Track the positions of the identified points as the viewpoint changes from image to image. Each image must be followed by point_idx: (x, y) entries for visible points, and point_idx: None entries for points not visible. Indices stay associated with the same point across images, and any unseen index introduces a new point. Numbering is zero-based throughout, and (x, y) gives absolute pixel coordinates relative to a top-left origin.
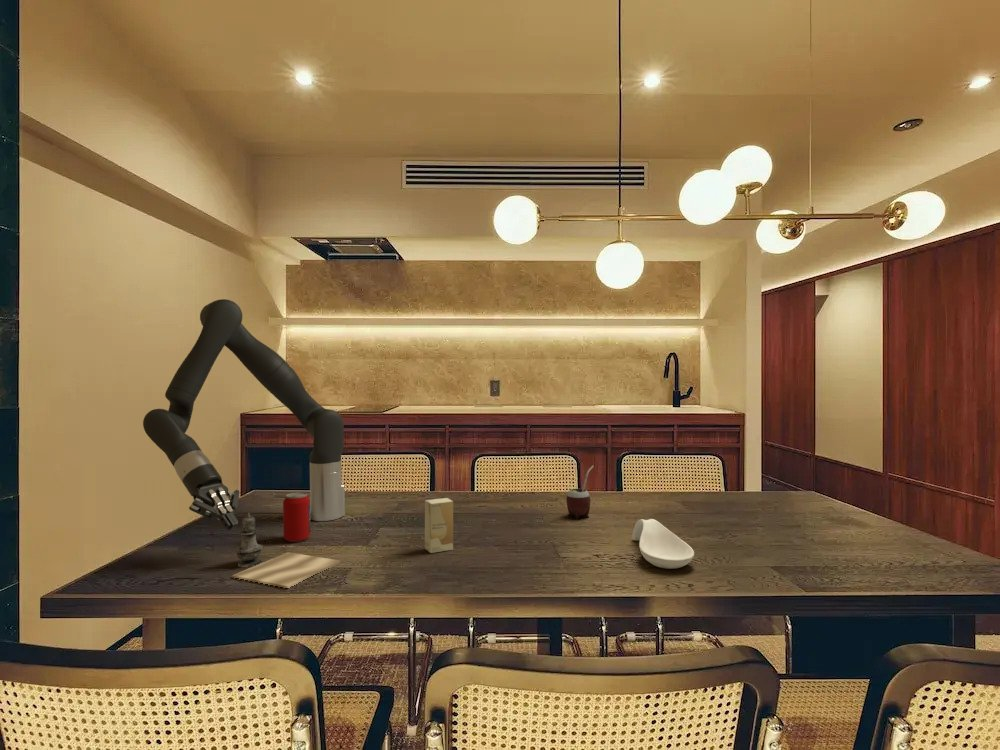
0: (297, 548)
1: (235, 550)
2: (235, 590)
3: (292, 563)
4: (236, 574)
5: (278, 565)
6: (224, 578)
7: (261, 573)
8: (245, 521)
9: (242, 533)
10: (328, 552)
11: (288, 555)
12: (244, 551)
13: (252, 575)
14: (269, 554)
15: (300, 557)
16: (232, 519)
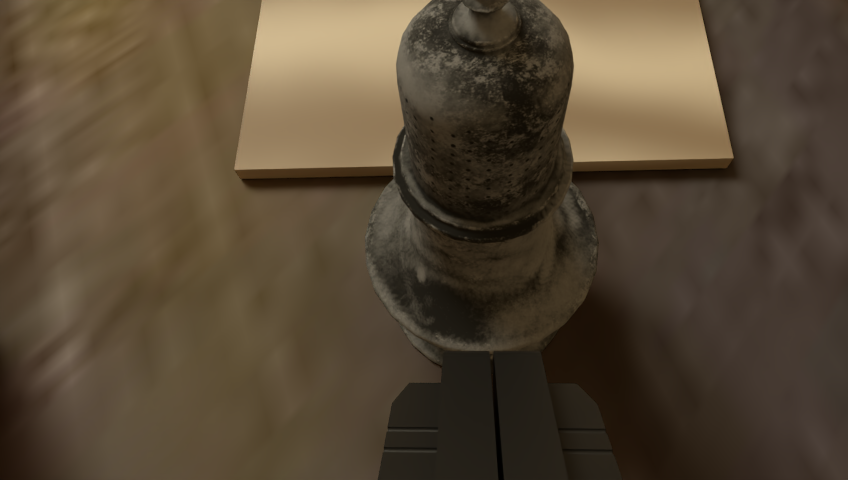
0: (105, 218)
1: (584, 294)
2: (822, 14)
3: (408, 4)
4: (708, 144)
5: None
6: (758, 209)
7: (612, 34)
8: (564, 32)
9: (564, 161)
10: (148, 5)
11: (293, 120)
12: (570, 192)
13: (662, 52)
14: (269, 306)
15: (304, 35)
16: (492, 410)
